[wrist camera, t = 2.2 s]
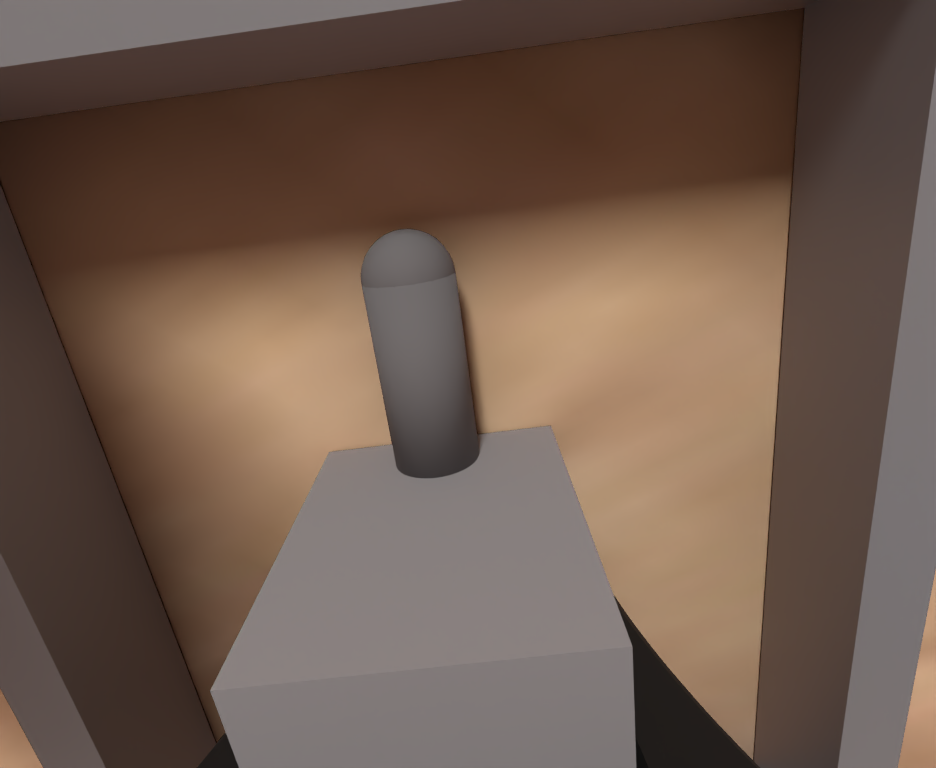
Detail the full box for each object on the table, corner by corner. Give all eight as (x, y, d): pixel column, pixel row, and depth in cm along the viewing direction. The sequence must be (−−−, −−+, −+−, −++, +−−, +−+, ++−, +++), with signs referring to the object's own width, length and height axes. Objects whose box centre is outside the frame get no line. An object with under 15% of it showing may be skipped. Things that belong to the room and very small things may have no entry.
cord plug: (536, 208, 9) (635, 237, 4) (576, 714, 12) (654, 1069, 7) (276, 242, 9) (39, 317, 4) (392, 732, 12) (346, 1093, 7)
